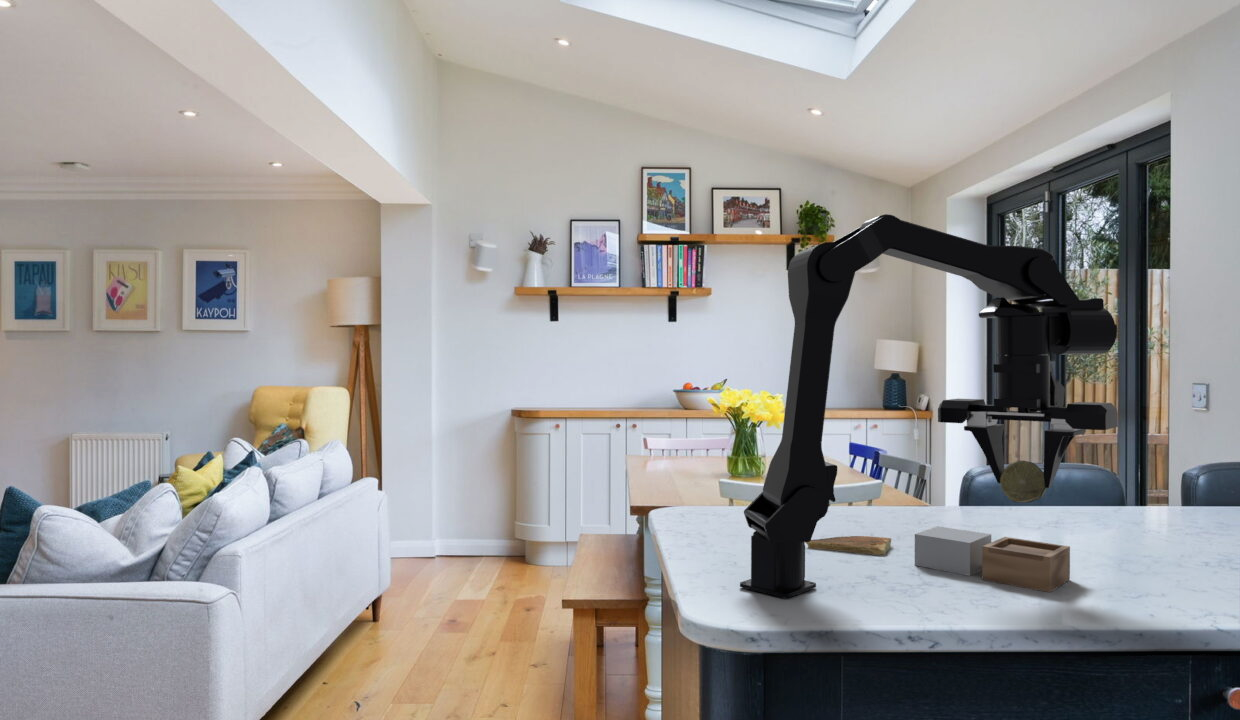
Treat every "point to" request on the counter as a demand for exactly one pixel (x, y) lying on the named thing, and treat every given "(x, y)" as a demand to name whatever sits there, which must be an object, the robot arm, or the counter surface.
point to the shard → (853, 544)
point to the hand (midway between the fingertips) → (1024, 485)
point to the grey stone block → (950, 549)
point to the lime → (1023, 482)
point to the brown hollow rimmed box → (1026, 563)
